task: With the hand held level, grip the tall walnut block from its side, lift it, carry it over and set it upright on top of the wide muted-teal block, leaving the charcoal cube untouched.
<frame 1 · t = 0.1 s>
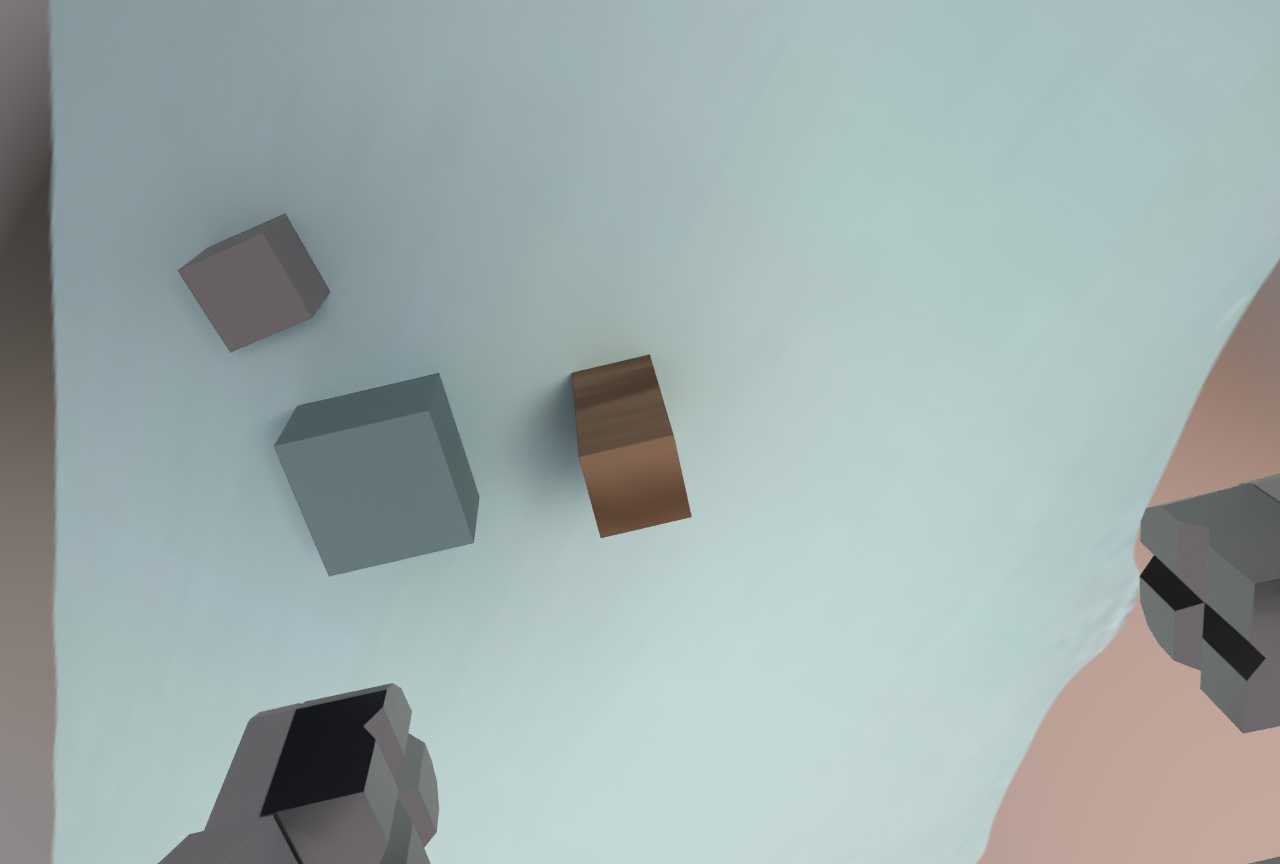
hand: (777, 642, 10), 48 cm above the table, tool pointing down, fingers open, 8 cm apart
walnut block: (619, 399, 61), on the table
teal base block: (391, 451, 61), on the table
charcoal cube: (270, 269, 56), on the table
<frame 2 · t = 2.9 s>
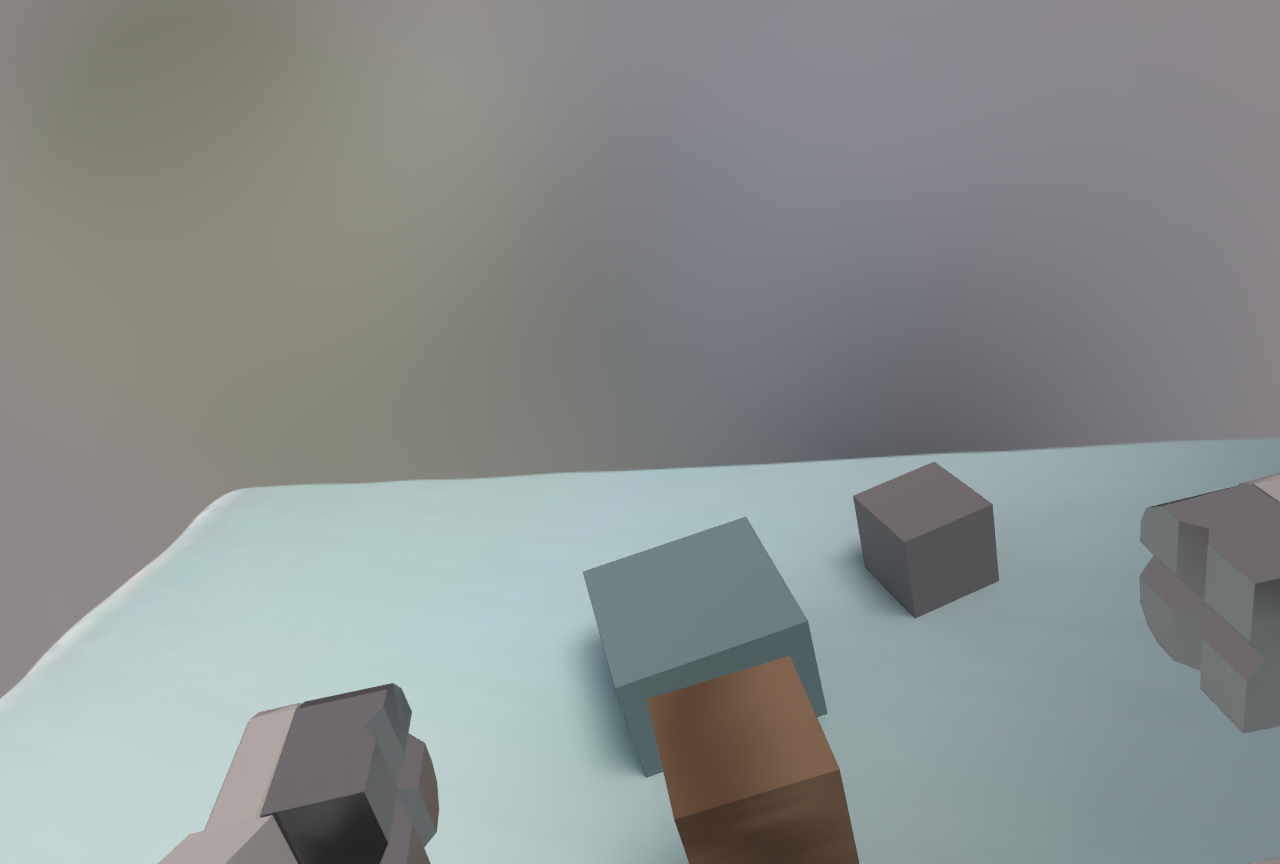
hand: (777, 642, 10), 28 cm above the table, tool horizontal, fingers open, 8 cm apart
teal base block: (712, 684, 49), on the table
charcoal cube: (929, 575, 52), on the table
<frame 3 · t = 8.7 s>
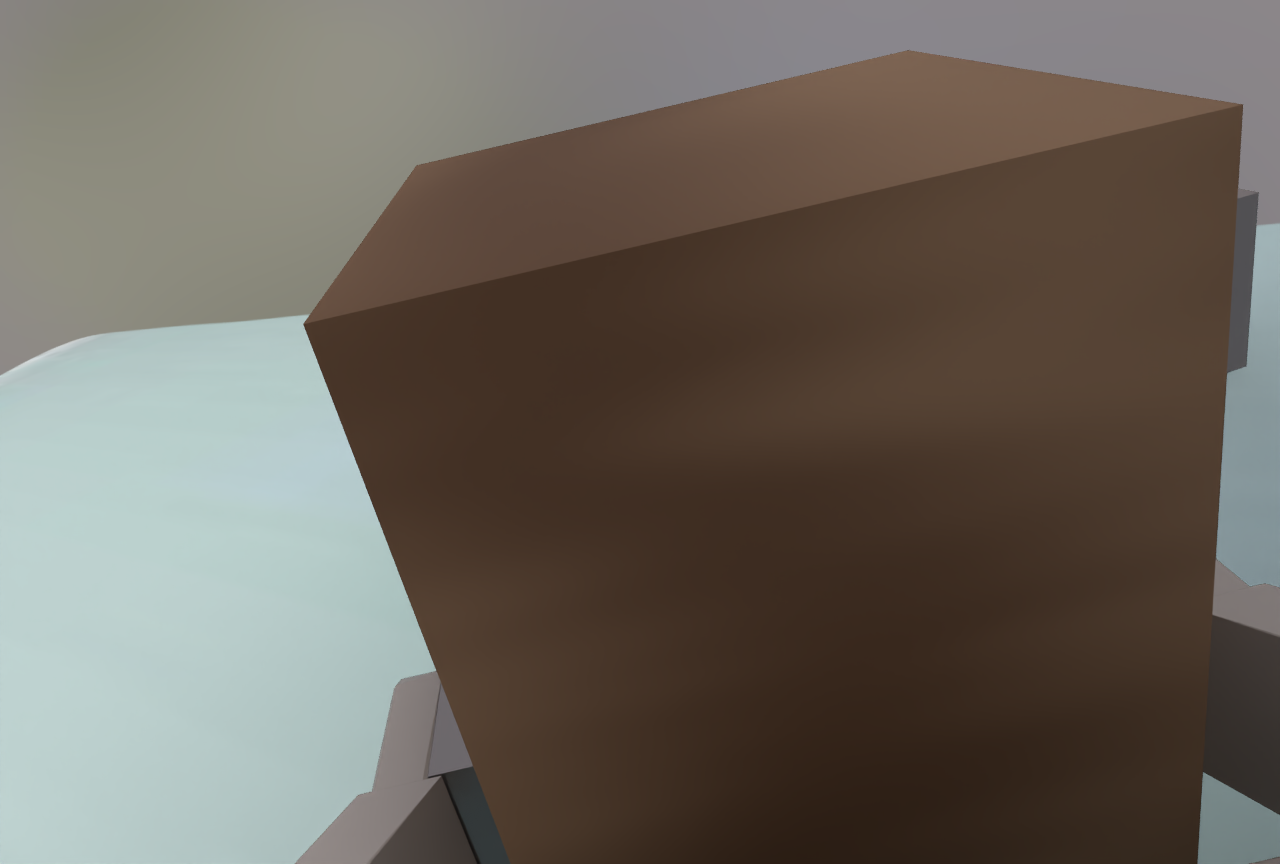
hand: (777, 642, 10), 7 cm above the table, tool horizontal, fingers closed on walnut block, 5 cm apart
charcoal cube: (1106, 366, 29), on the table
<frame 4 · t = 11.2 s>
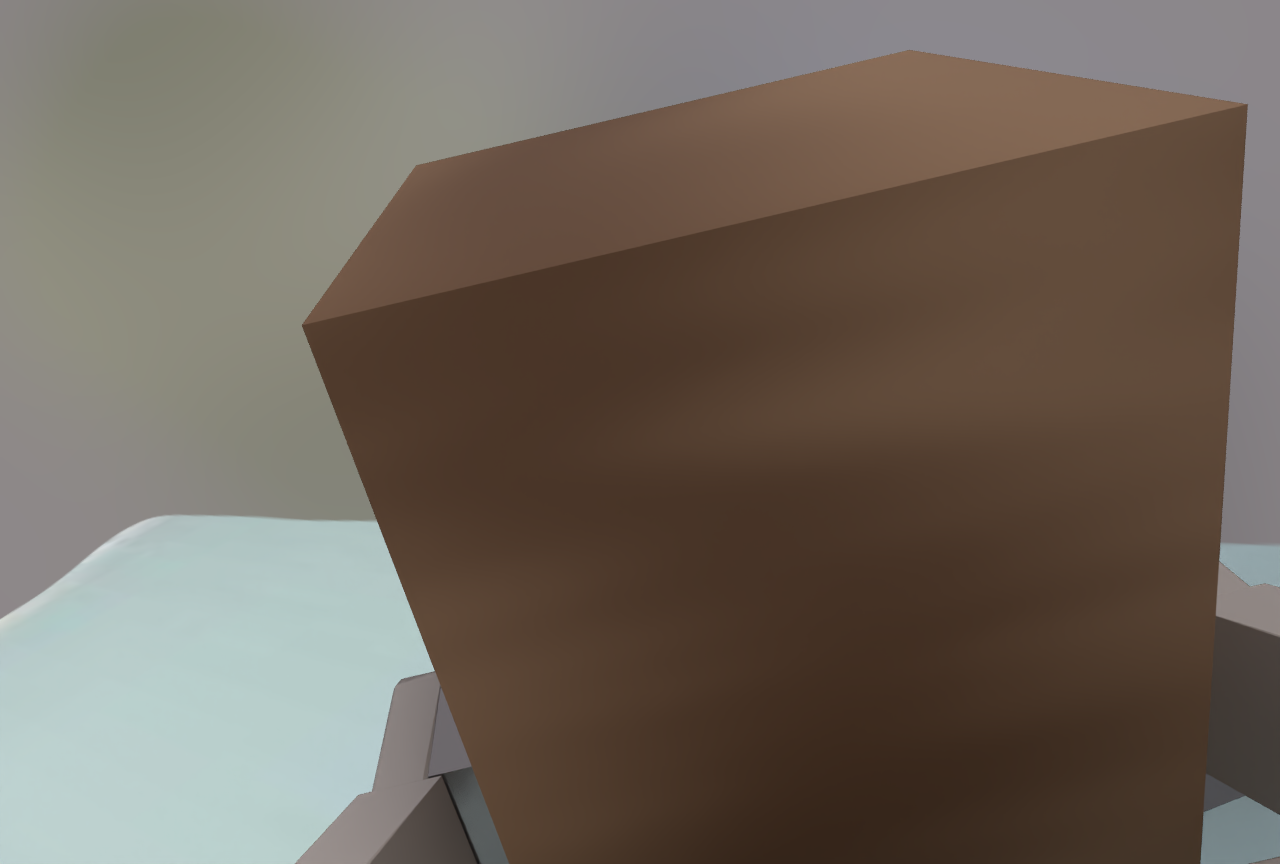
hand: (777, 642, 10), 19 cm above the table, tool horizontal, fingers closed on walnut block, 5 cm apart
charcoal cube: (1161, 749, 31), on the table
when the fingers open (14 cm above the table, at t = 13.8 s): walnut block drops 2 cm, resting on teal base block.
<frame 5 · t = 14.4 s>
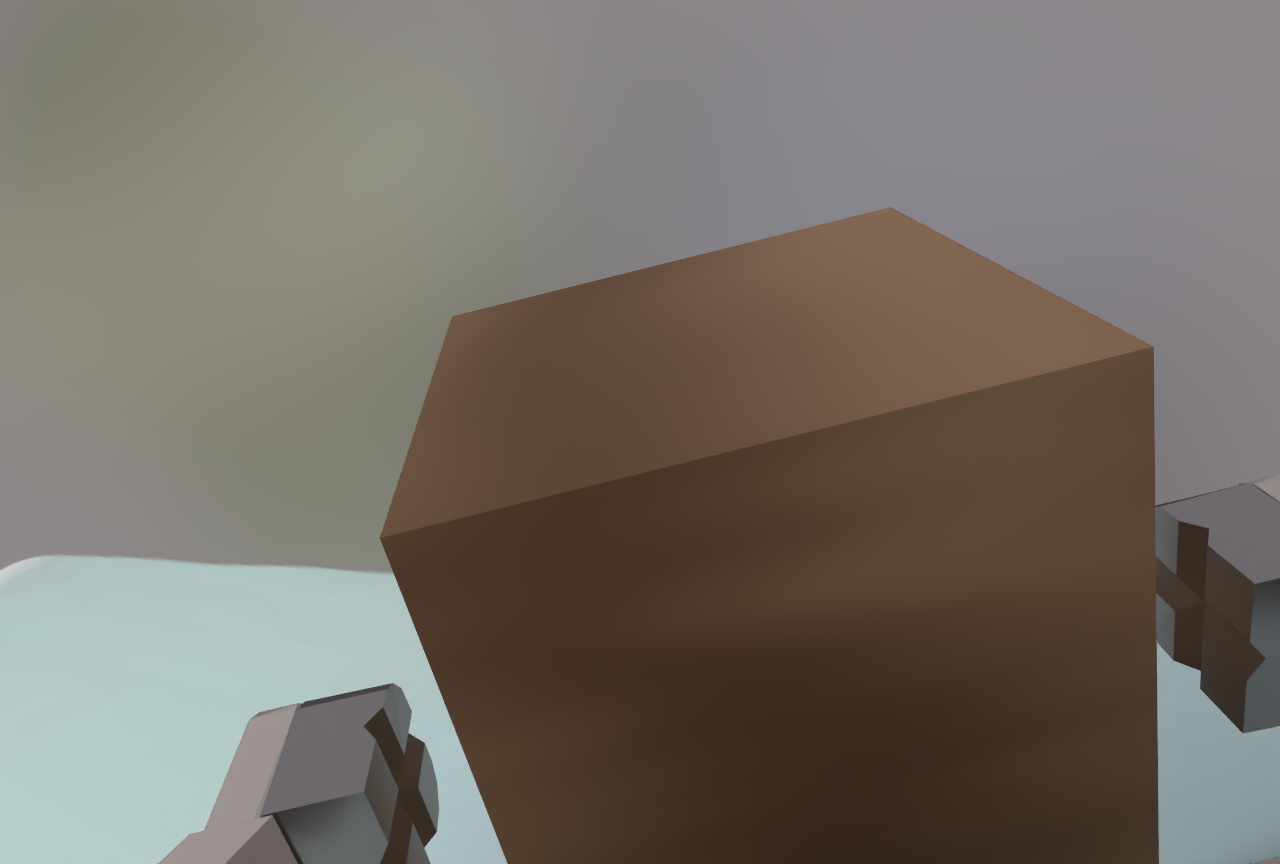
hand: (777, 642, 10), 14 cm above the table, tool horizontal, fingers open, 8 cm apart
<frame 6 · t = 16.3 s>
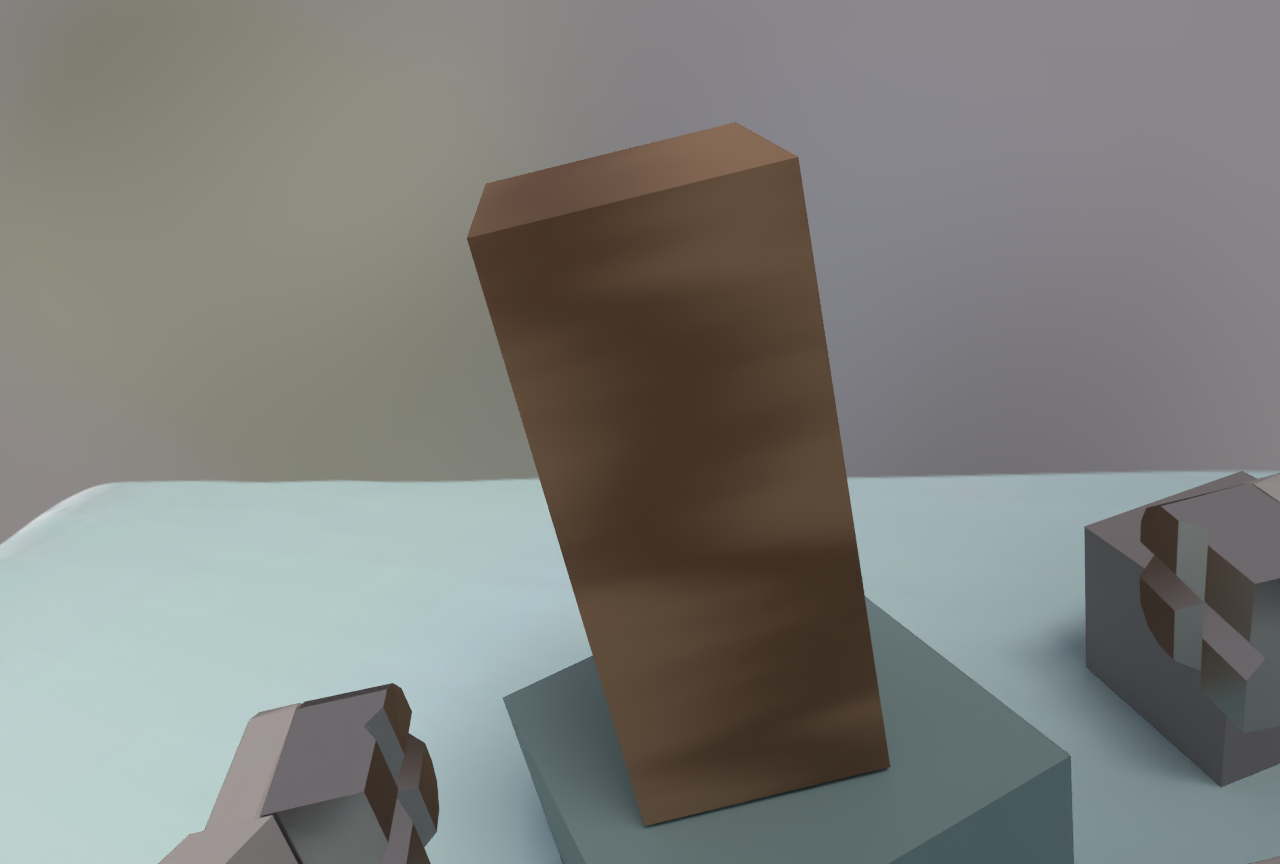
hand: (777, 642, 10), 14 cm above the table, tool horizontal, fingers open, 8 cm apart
walnut block: (743, 712, 21), point 6 cm above the table, touching teal base block
charcoal cube: (1227, 693, 26), on the table
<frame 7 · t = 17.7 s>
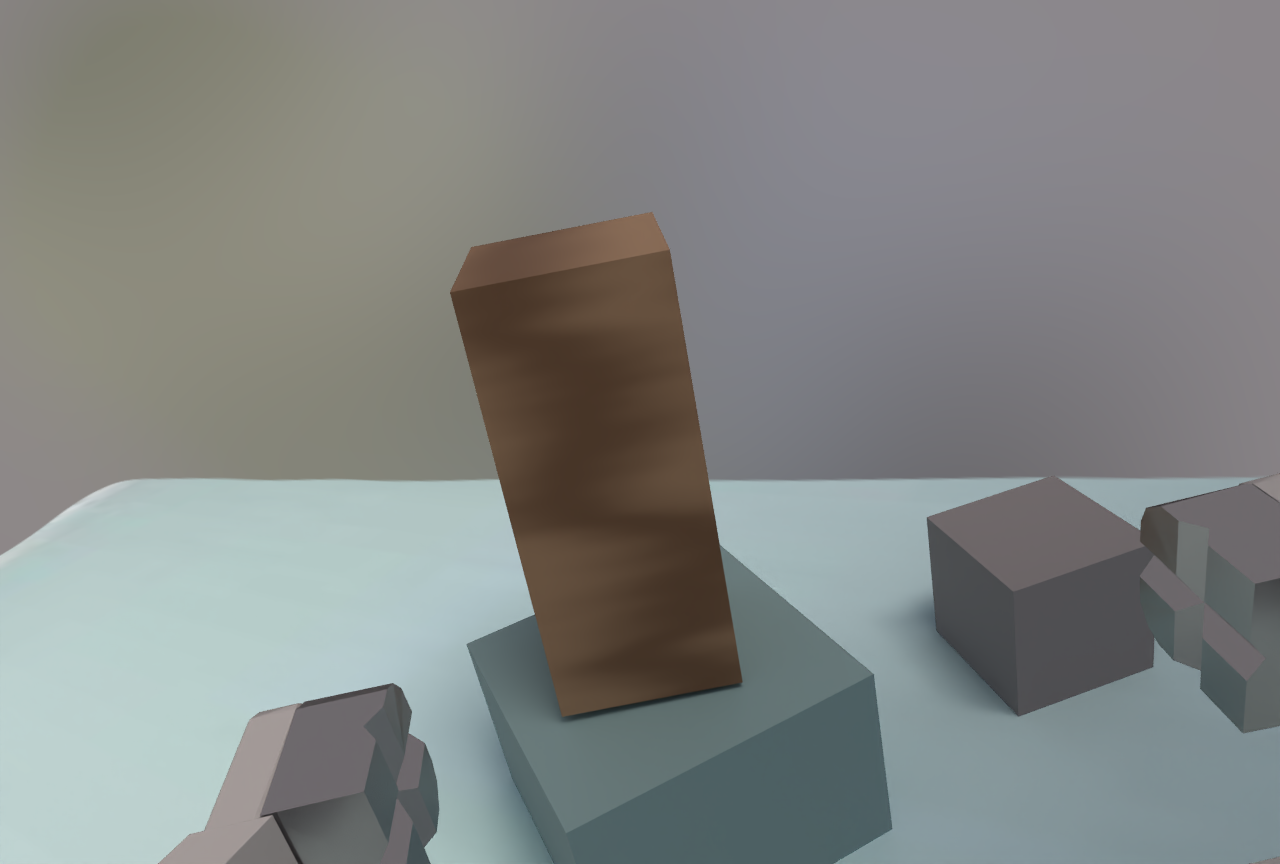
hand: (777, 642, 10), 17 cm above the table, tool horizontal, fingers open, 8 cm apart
walnut block: (645, 645, 28), point 6 cm above the table
teal base block: (688, 806, 31), on the table
charcoal cube: (1038, 649, 33), on the table
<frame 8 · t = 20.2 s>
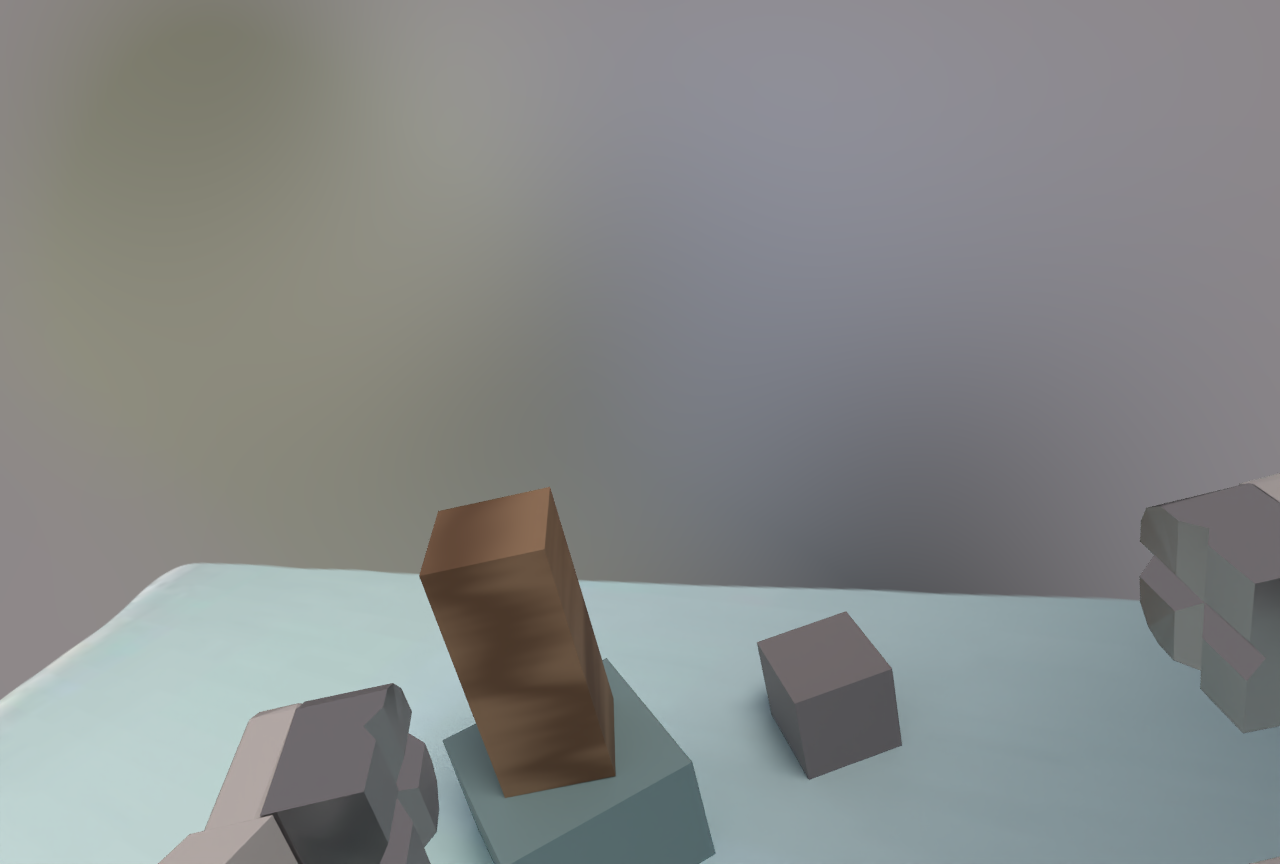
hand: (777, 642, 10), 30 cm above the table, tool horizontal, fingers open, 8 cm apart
walnut block: (561, 745, 44), point 6 cm above the table, touching teal base block
teal base block: (590, 841, 47), on the table, touching walnut block
charcoal cube: (834, 730, 50), on the table
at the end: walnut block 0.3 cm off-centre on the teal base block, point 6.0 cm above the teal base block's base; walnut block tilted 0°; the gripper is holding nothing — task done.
